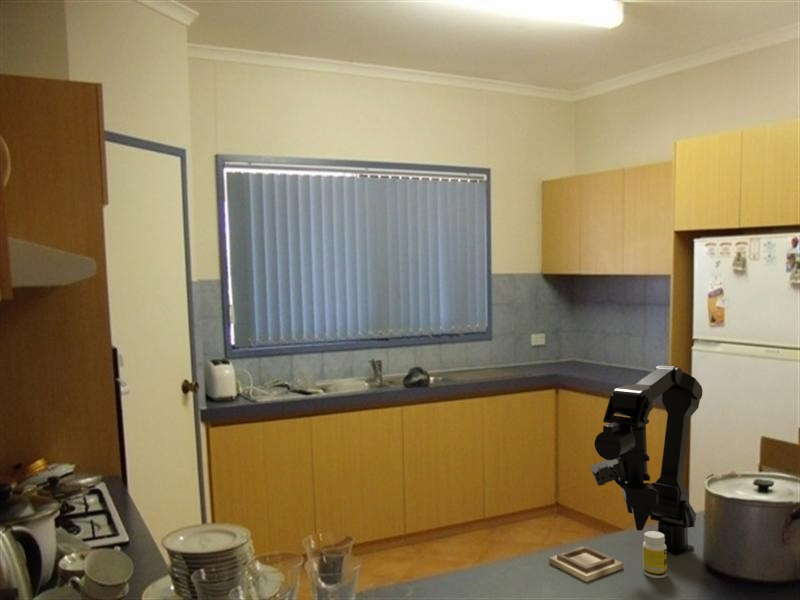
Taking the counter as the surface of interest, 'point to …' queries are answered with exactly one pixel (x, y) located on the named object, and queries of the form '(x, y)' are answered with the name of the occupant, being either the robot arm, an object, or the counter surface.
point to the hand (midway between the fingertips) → (635, 521)
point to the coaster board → (585, 563)
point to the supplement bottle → (654, 555)
